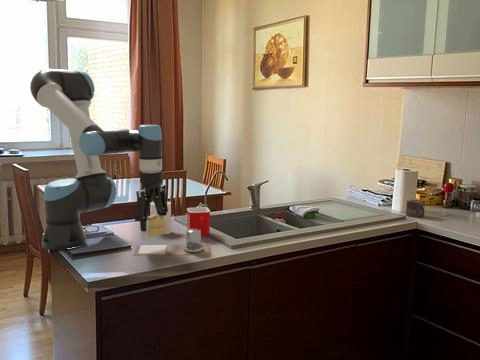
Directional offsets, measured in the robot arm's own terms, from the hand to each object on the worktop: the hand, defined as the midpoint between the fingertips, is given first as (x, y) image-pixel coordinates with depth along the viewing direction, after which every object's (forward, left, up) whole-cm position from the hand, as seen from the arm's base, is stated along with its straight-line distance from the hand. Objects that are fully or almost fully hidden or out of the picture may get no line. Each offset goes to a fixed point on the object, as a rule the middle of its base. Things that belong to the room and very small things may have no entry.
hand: (152, 236), depth 163 cm
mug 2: (+16, +18, -6) cm, 25 cm away
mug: (+1, +25, -6) cm, 26 cm away
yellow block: (0, 0, +1) cm, 1 cm away
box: (+116, +49, -6) cm, 126 cm away
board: (+7, 0, -6) cm, 9 cm away
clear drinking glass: (+14, 0, -5) cm, 15 cm away
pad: (0, 0, -5) cm, 5 cm away
